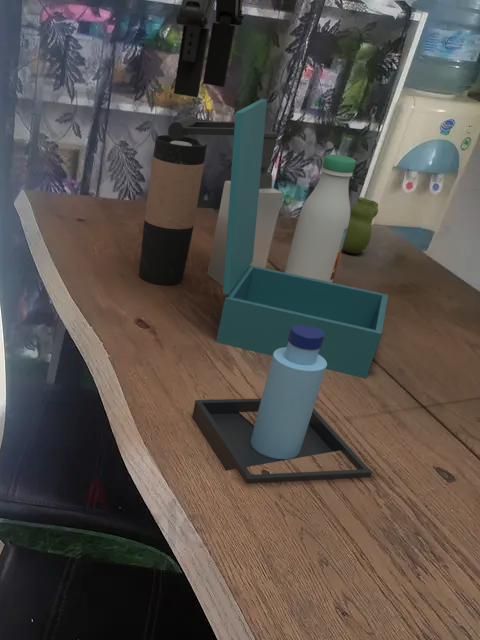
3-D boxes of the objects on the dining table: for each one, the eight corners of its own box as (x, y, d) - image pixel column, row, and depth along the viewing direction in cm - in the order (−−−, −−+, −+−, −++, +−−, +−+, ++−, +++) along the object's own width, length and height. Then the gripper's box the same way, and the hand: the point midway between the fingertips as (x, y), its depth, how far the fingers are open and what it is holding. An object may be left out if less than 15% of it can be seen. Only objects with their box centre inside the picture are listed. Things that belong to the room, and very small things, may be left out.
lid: (267, 98, 94) (192, 98, 97) (242, 112, 82) (158, 111, 85) (252, 261, 105) (186, 256, 108) (228, 294, 93) (154, 288, 96)
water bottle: (309, 455, 76) (347, 340, 69) (268, 462, 74) (302, 344, 67) (280, 430, 80) (313, 318, 72) (240, 436, 78) (269, 322, 70)
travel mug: (130, 279, 116) (148, 139, 104) (145, 265, 122) (164, 132, 110) (176, 289, 114) (200, 149, 102) (189, 275, 120) (213, 141, 108)
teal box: (372, 340, 105) (388, 294, 101) (364, 384, 93) (381, 333, 89) (239, 310, 110) (249, 264, 106) (214, 347, 98) (225, 297, 94)
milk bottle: (319, 303, 116) (358, 166, 104) (273, 289, 119) (307, 154, 107) (334, 291, 121) (374, 159, 109) (290, 278, 124) (324, 149, 112)
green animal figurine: (330, 250, 140) (346, 194, 134) (346, 246, 143) (362, 192, 137) (355, 259, 137) (372, 202, 131) (370, 255, 140) (388, 200, 134)
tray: (365, 489, 73) (372, 472, 72) (243, 496, 70) (248, 478, 69) (299, 413, 85) (304, 397, 84) (191, 416, 82) (195, 399, 80)
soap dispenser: (234, 268, 125) (265, 125, 112) (260, 287, 119) (296, 137, 106) (200, 269, 123) (227, 123, 110) (225, 288, 117) (257, 135, 104)
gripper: (251, -162, 66) (205, 106, 78) (293, -125, 85) (250, 85, 97) (171, -169, 67) (139, 94, 80) (230, -131, 86) (196, 76, 99)
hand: (200, 90), depth 89 cm, fingers open, 13 cm apart
